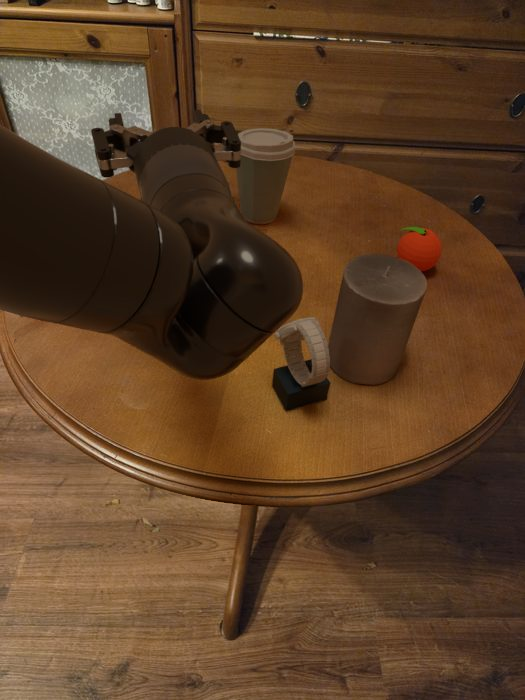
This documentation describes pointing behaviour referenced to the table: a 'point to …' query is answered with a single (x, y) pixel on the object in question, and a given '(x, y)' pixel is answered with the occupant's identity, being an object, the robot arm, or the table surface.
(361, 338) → the pillar candle
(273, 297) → the robot arm
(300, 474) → the table surface
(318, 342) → the watch
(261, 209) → the disposable coffee cup
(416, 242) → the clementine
